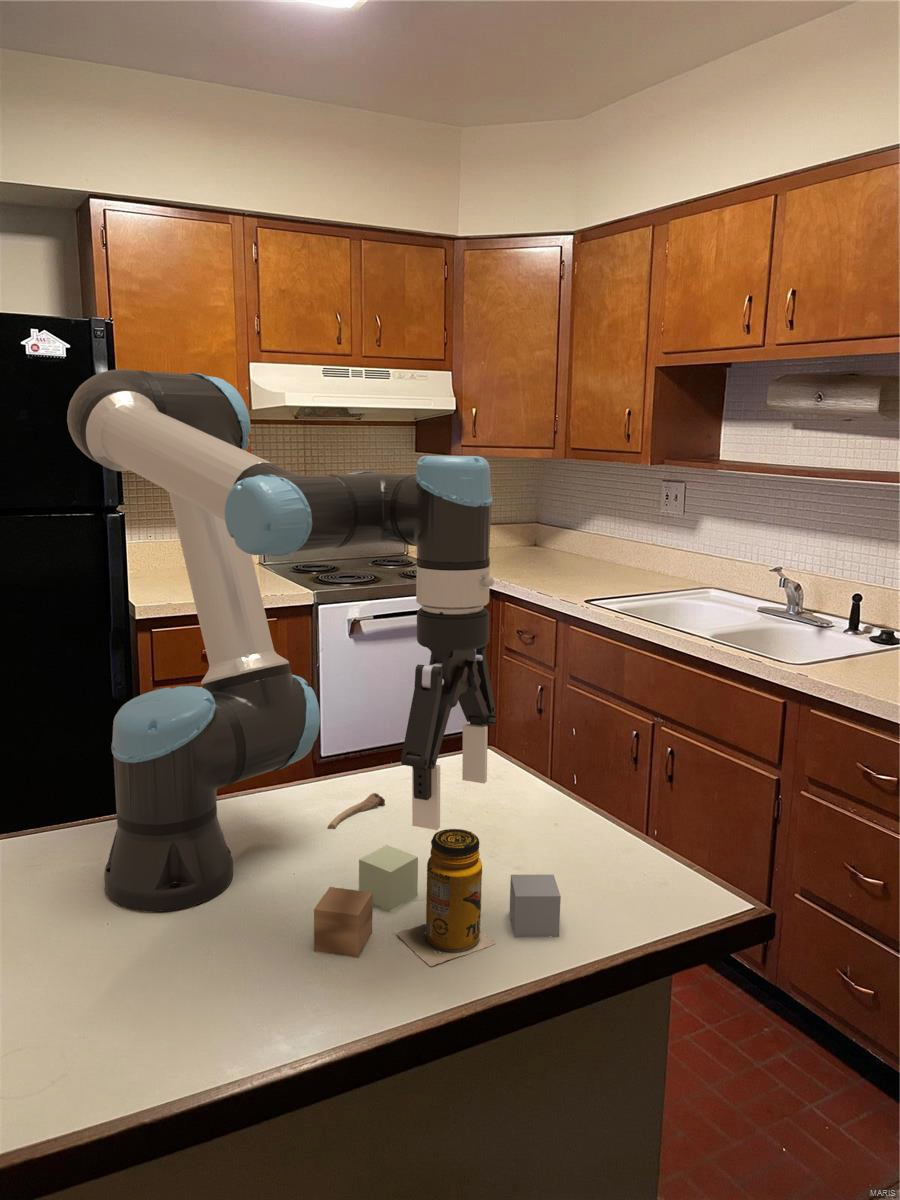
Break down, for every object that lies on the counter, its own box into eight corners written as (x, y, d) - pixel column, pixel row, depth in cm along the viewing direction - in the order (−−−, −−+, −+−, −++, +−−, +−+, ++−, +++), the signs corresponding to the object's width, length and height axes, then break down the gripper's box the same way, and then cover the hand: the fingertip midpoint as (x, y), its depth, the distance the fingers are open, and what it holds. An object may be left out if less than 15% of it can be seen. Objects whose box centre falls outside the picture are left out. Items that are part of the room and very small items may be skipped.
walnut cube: (314, 952, 97) (313, 909, 96) (329, 927, 102) (329, 886, 101) (358, 958, 96) (358, 915, 95) (372, 933, 101) (372, 892, 100)
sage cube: (358, 897, 109) (359, 859, 108) (386, 882, 112) (386, 844, 112) (390, 911, 106) (390, 872, 105) (417, 895, 110) (418, 856, 109)
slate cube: (514, 937, 101) (515, 896, 100) (509, 914, 106) (510, 874, 105) (558, 937, 101) (560, 896, 100) (551, 914, 106) (553, 874, 105)
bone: (319, 827, 128) (319, 813, 128) (373, 803, 137) (373, 789, 137) (332, 832, 127) (332, 818, 126) (386, 807, 135) (386, 794, 135)
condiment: (495, 944, 99) (499, 842, 97) (430, 968, 95) (432, 861, 92) (458, 914, 105) (461, 818, 103) (395, 935, 101) (396, 834, 98)
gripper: (439, 632, 80) (438, 856, 84) (524, 591, 103) (521, 769, 107) (364, 625, 83) (366, 842, 87) (463, 587, 106) (462, 760, 109)
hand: (451, 802), depth 97 cm, fingers open, 13 cm apart
